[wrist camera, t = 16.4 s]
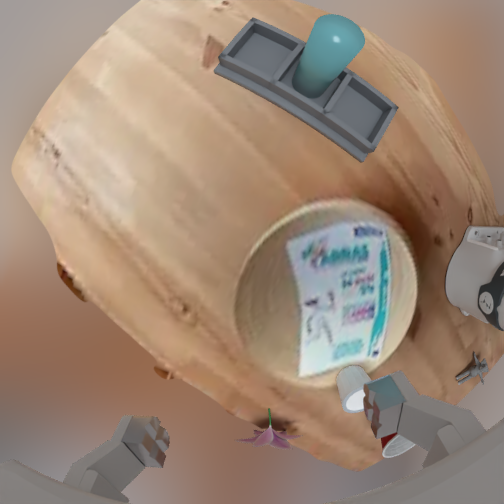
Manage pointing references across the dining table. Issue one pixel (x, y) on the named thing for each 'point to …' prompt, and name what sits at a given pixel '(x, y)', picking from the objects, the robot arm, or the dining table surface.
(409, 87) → the dining table surface
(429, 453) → the robot arm
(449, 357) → the dining table surface
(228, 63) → the cup rack
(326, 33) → the teal cylinder
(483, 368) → the grey humanoid figurine
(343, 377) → the shot glass
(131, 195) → the dining table surface
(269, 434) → the lily
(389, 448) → the plastic cup
